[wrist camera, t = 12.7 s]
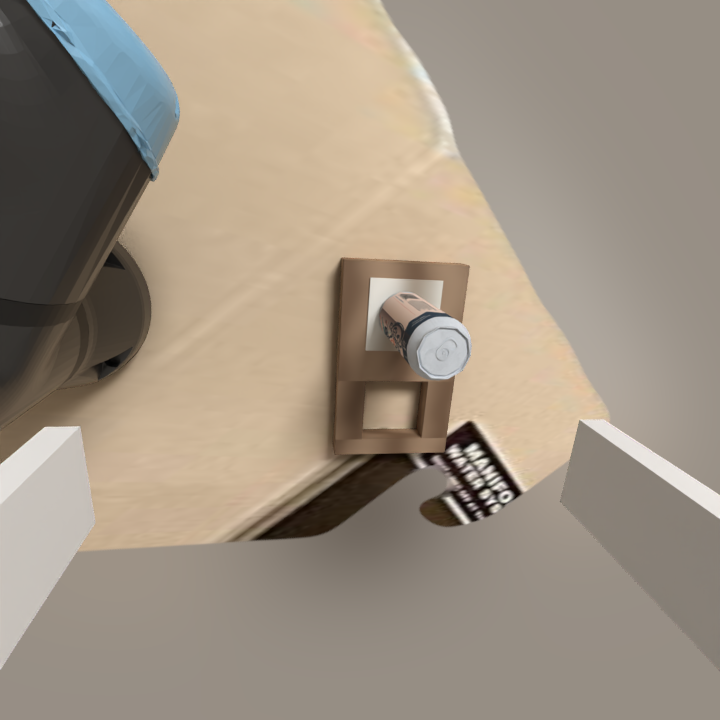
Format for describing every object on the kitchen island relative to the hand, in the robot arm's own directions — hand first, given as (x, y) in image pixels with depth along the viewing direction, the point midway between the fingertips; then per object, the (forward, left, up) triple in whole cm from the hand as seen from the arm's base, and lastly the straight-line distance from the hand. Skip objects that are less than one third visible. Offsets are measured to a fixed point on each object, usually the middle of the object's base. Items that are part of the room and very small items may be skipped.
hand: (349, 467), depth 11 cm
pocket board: (+9, -7, -32) cm, 34 cm away
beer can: (+9, -2, -29) cm, 31 cm away
